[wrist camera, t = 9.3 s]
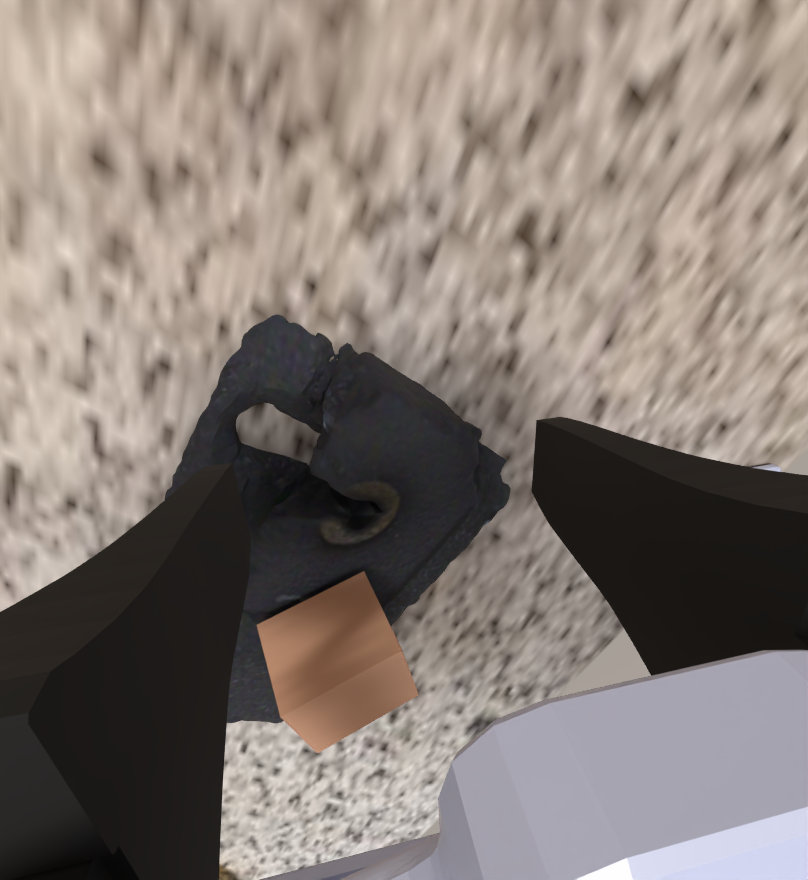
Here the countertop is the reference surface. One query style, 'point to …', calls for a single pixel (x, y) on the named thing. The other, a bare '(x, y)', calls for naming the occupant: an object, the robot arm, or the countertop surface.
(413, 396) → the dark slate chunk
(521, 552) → the countertop surface
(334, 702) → the terracotta block
